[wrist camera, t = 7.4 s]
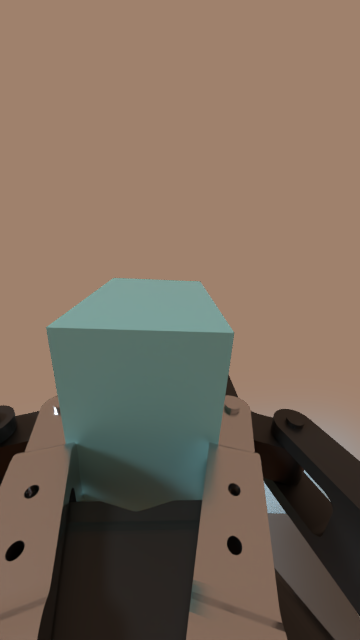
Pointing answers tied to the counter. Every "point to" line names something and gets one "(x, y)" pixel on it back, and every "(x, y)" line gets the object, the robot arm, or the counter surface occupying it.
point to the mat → (311, 579)
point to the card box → (142, 388)
